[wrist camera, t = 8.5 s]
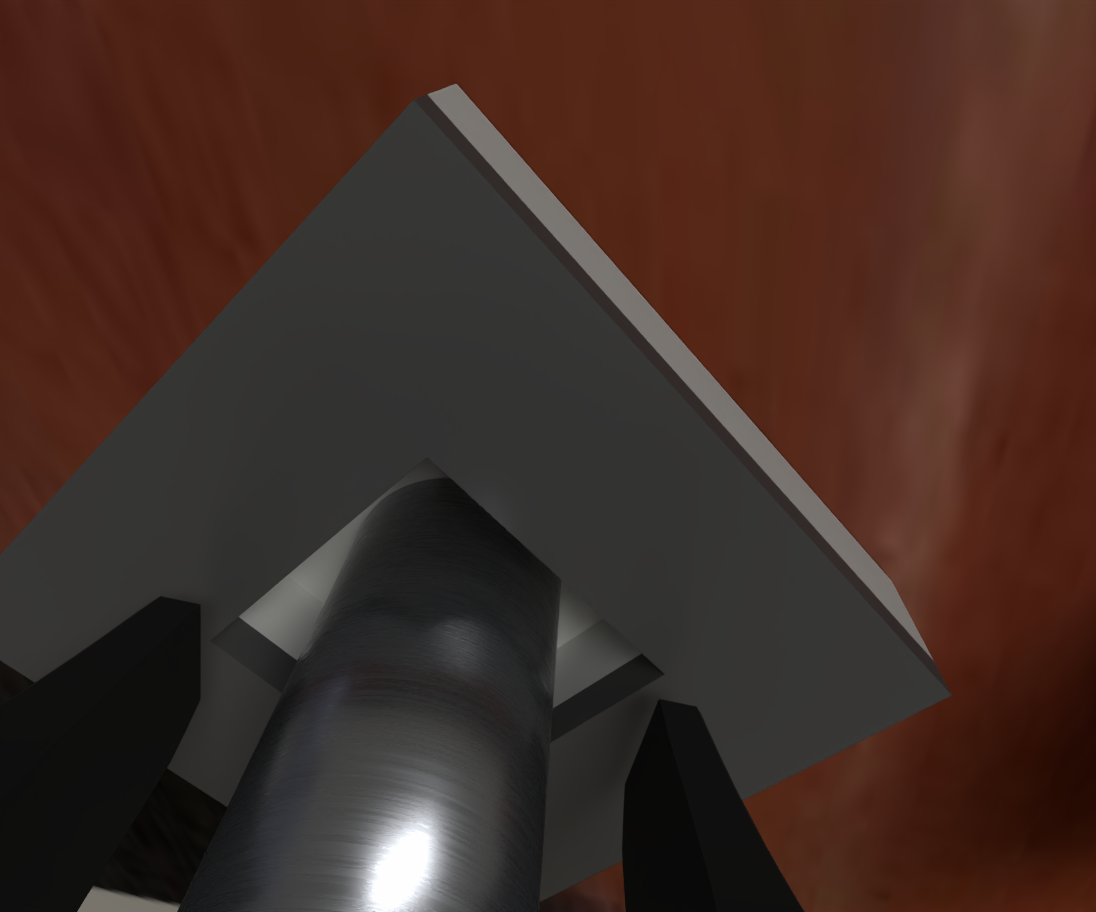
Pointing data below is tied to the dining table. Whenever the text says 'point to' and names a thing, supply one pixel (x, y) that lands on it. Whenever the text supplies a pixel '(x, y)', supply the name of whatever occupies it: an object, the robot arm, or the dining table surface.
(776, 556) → the socket
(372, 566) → the steel peg
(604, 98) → the dining table surface
